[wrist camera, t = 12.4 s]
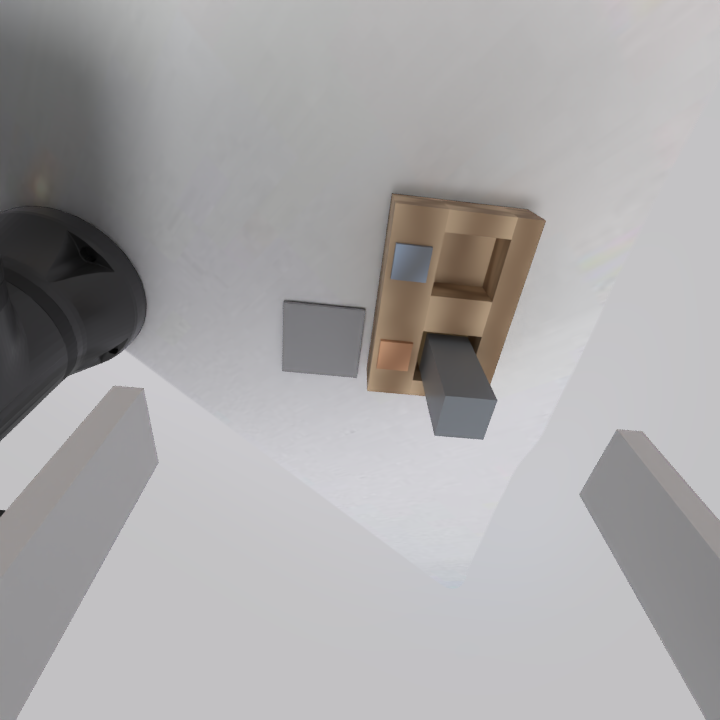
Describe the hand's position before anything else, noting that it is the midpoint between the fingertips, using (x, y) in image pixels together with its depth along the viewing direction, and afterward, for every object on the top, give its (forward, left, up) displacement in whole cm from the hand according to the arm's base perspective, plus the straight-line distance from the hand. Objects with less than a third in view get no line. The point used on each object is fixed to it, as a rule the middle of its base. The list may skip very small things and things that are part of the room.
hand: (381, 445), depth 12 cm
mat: (-3, -13, -29) cm, 32 cm away
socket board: (+8, -7, -29) cm, 31 cm away
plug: (+9, -12, -28) cm, 32 cm away
